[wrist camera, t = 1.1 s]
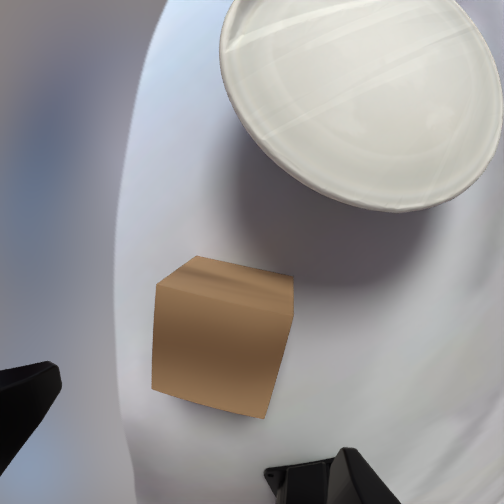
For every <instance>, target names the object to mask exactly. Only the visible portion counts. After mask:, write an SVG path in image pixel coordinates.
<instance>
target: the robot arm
mask: <svg viewBox="0 0 504 504" xmlns="http://www.w3.org/2000/svg"><path fill="white" fill-rule="evenodd" d="M61 388H62V381H61V377H60V371H59V367H58V366H57V365H55V364H54V363H52V362H50V361H44V362H40V363H35V364H31V365H26V366H21V367H16V368H11V369H5V370H0V476H1V475H2V473H3V472H4V471H5V469H6V468H7V466H8V465H9V464H10V462H11V461H12V459H13V458H14V457H15V456H16V454H17V453H18V452H19V450H20V449H21V448H22V446H23V445H24V444H25V442H26V441H27V440H28V438H29V437H30V436H31V434H32V433H33V432H34V430H35V429H36V428H37V427H38V425H39V424H40V423H41V421H42V420H43V418H44V417H45V415H46V413H47V412H48V410H49V409H50V407H51V405H52V404H53V402H54V400H55V399H56V397H57V396H58V394H59V393H60V391H61ZM264 477H265V479H266V480H267V482H268V484H269V486H270V488H271V489H272V491H273V493H274V495H275V496H276V498H277V499H276V504H401V503H400V501H399V500H398V499H397V498H396V497H395V496H394V494H393V493H392V492H391V491H390V490H389V488H388V487H387V486H386V485H385V484H384V482H383V481H382V480H381V479H380V478H379V476H378V475H377V474H376V473H375V471H374V470H373V469H372V468H371V467H370V465H369V464H368V463H367V462H366V460H365V459H364V458H363V457H362V455H361V454H360V453H359V452H358V450H357V449H355V448H348V447H343V448H341V449H340V450H339V452H338V454H337V456H336V457H335V458H331V459H326V460H321V461H315V462H309V463H303V464H297V465H290V466H282V467H274V468H267V469H265V471H264Z"/></svg>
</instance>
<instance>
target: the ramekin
mask: <svg viewBox="0 0 504 504" xmlns="http://www.w3.org/2000/svg"><path fill="white" fill-rule="evenodd" d="M219 59H220V69H221V75H222V79H223V83H224V86H225V89H226V92H227V95H228V97H229V100H230V102H231V104H232V106H233V108H234V110H235V112H236V114H237V116H238V118H239V119H240V121H241V123H242V125H243V126H244V128H245V129H246V130H247V132H248V133H249V135H250V136H251V137H252V139H253V140H254V141H255V142H256V144H257V145H258V146H259V147H260V148H261V149H262V151H263V152H264V153H265V154H266V155H267V156H268V157H270V158H271V159H272V160H273V161H274V162H275V163H276V164H277V165H278V166H279V167H281V168H282V169H283V170H284V171H286V172H287V173H288V174H289V175H291V176H292V177H294V178H295V179H296V180H298V181H299V182H301V183H302V184H304V185H306V186H307V187H309V188H311V189H312V190H314V191H316V192H318V193H320V194H322V195H324V196H326V197H328V198H331V199H334V200H336V201H339V202H342V203H345V204H348V205H352V206H355V207H359V208H364V209H368V210H375V211H383V212H391V213H404V212H411V211H417V210H423V209H428V208H431V207H435V206H437V205H440V204H442V203H444V202H447V201H450V200H452V199H454V198H455V197H457V196H459V195H460V194H461V193H463V192H464V191H465V190H467V189H468V188H469V187H470V186H471V185H472V184H473V183H474V182H475V181H476V180H477V179H478V178H479V177H480V176H481V175H482V174H483V172H484V171H485V170H486V168H487V166H488V164H489V163H490V161H491V160H492V158H493V156H494V154H495V152H496V149H497V146H498V143H499V140H500V135H501V129H502V122H503V94H502V87H501V82H500V77H499V73H498V70H497V67H496V64H495V61H494V58H493V56H492V54H491V52H490V50H489V47H488V45H487V43H486V41H485V40H484V38H483V36H482V35H481V33H480V31H479V30H478V28H477V27H476V26H475V24H474V23H473V21H472V20H471V19H470V17H469V16H468V15H467V14H466V13H465V11H464V10H463V9H462V8H461V7H460V6H459V4H458V3H457V2H456V1H455V0H234V1H233V3H232V5H231V6H230V8H229V10H228V12H227V14H226V17H225V19H224V22H223V26H222V30H221V35H220V45H219Z"/></svg>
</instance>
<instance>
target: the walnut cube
mask: <svg viewBox="0 0 504 504" xmlns="http://www.w3.org/2000/svg"><path fill="white" fill-rule="evenodd" d="M293 316H294V290H293V276H289V275H284V274H279V273H275V272H270V271H265V270H260V269H256V268H251V267H246V266H242V265H237V264H232V263H228V262H223V261H219V260H214V259H209V258H205V257H200V256H195V257H194V258H192V259H191V260H190V261H188V262H187V263H185V264H184V265H182V266H181V267H180V268H178V269H177V270H175V271H174V272H173V273H171V274H170V275H169V276H167V277H166V278H164V279H163V280H162V281H160V282H159V283H157V284H156V296H155V310H154V326H153V348H152V389H153V390H156V391H159V392H162V393H165V394H168V395H171V396H174V397H177V398H181V399H184V400H187V401H191V402H194V403H198V404H201V405H205V406H209V407H213V408H216V409H220V410H224V411H229V412H233V413H237V414H241V415H246V416H251V417H256V418H261V419H264V418H265V415H266V412H267V409H268V405H269V402H270V399H271V395H272V392H273V389H274V385H275V382H276V378H277V375H278V371H279V368H280V364H281V361H282V357H283V354H284V350H285V346H286V343H287V339H288V335H289V332H290V328H291V324H292V320H293Z"/></svg>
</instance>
